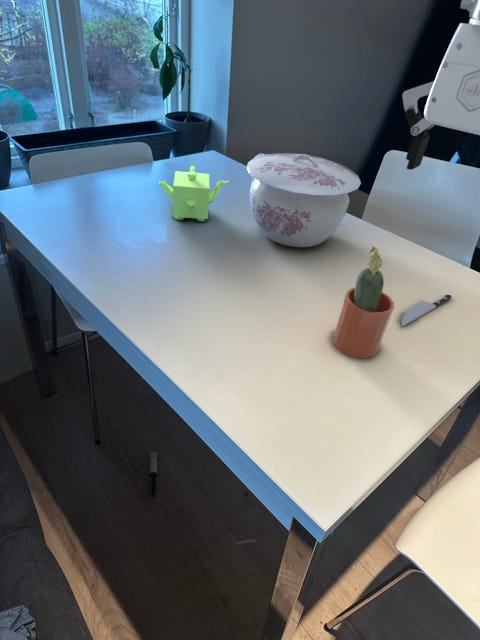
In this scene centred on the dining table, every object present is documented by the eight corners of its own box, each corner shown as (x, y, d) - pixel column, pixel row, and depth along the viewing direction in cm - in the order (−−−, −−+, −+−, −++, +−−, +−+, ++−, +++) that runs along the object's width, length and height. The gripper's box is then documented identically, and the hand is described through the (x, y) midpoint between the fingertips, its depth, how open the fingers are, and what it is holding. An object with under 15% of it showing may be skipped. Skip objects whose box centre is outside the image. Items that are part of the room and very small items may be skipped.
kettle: (191, 199, 129) (193, 159, 122) (228, 216, 122) (232, 175, 116) (151, 212, 119) (151, 170, 112) (189, 231, 112) (191, 188, 106)
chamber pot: (354, 265, 107) (379, 181, 94) (240, 256, 105) (250, 168, 92) (333, 216, 129) (351, 142, 117) (239, 208, 127) (246, 132, 115)
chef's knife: (389, 320, 90) (401, 327, 88) (390, 316, 90) (403, 323, 88) (439, 293, 101) (452, 299, 99) (441, 288, 100) (453, 294, 98)
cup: (384, 343, 84) (401, 300, 78) (365, 365, 78) (382, 320, 72) (345, 324, 88) (359, 281, 82) (325, 343, 82) (337, 299, 76)
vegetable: (370, 349, 81) (394, 258, 67) (346, 349, 81) (365, 258, 67) (366, 332, 84) (388, 242, 70) (343, 332, 84) (360, 242, 70)
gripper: (417, 1, 47) (373, 165, 57) (607, 21, 39) (517, 207, 49) (440, 5, 52) (396, 155, 62) (613, 23, 44) (530, 192, 54)
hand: (450, 178), depth 56 cm, fingers open, 9 cm apart
